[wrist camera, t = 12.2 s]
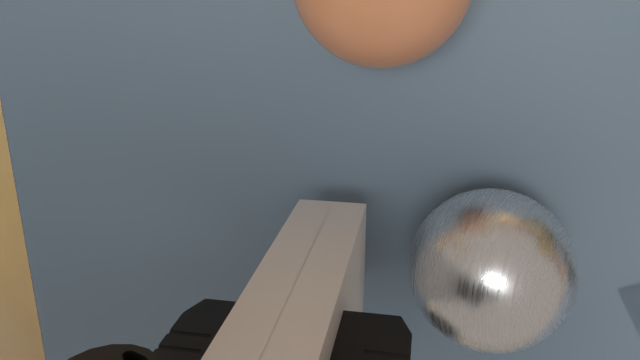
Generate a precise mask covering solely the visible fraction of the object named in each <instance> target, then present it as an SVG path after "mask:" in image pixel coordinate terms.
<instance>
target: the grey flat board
mask: <svg viewBox="0 0 640 360" xmlns="http://www.w3.org/2000/svg"><path fill="white" fill-rule="evenodd" d="M0 100H1V106H2V111H3V117H4V123H5V129H6V134H7V140H8V146H9V152H10V157H11V163H12V169H13V174H14V180H15V186H16V192H17V197H18V203H19V209H20V215H21V220H22V226H23V232H24V238H25V243H26V249H27V255H28V260H29V266H30V272H31V278H32V283H33V289H34V295H35V301H36V306H37V312H38V318H39V324H40V329H41V335H42V341H43V347H44V352H45V358H46V360H68V359H69V358H70V357H73V356H75V355H77V354H79V353H82V352H84V351H86V350H89V349H92V348H96V347H101V346H105V345H110V344H133V345H137V346H141V347H145V348H148V349H150V350H151V351H152V352H153V351H154V350H155V349H156V348H157V349H158V346H159V343H160V342H161V341H162V339H163V338H164V337H165V335H166V334H167V333H168V334H169V332H170V329H171V328H172V326H173V325H174V324H175V322H176V321H177V320H178V318H179V317H180V316H181V314H182V313H183V312H184V311H186V310H188V309H189V308H191V307H192V306H194V305H196V304H197V303H199V302H200V301H202V300H204V299H215V300H225V301H235V302H237V300H238V298H239V297H240V295H241V294H242V292H243V290H244V289H245V287H246V285H247V284H248V282H249V281H250V279H251V277H252V276H253V274H254V273H255V271H256V269H257V268H258V266H259V264H260V263H261V261H262V260H263V258H264V256H265V255H266V253H267V251H268V250H269V248H270V247H271V245H272V243H273V242H274V240H275V238H276V237H277V235H278V234H279V232H280V230H281V229H282V227H283V226H284V224H285V222H286V221H287V219H288V217H289V216H290V214H291V213H292V211H293V209H294V208H295V206H296V204H297V203H298V201H299V200H300V199H304V200H319V201H333V202H348V203H363V204H367V205H366V239H365V273H364V306H363V312H366V313H376V314H386V315H396V316H401V317H402V318H403V320H404V322H405V323H406V325H407V327H408V328H409V330H410V332H411V333H412V344H411V360H640V0H472V1H471V4H470V6H469V9H468V11H467V13H466V15H465V17H464V19H463V20H462V22H461V24H460V25H459V27H458V28H457V29H456V31H455V32H454V33H453V35H452V36H451V37H450V38H449V39H448V40H447V41H446V42H445V43H444V44H443V45H442V46H440V47H439V48H438V49H437V50H435V51H434V52H433V53H431V54H429V55H428V56H426V57H425V58H423V59H420V60H418V61H416V62H414V63H411V64H408V65H405V66H401V67H396V68H389V69H374V68H365V67H361V66H356V65H353V64H351V63H348V62H345V61H343V60H341V59H340V58H338V57H336V56H334V55H333V54H331V53H330V52H328V51H327V50H326V49H324V48H323V47H322V46H321V45H320V44H319V43H318V42H317V41H316V40H315V39H314V38H313V36H312V35H311V34H310V33H309V31H308V30H307V28H306V27H305V25H304V24H303V22H302V20H301V18H300V16H299V14H298V11H297V9H296V6H295V3H294V0H0ZM484 188H495V189H503V190H509V191H513V192H517V193H520V194H522V195H525V196H527V197H529V198H531V199H533V200H535V201H536V202H538V203H540V204H541V205H542V206H544V207H545V208H546V209H548V210H549V211H550V212H551V213H552V214H553V215H554V216H555V217H556V218H557V219H558V220H559V222H560V223H561V224H562V226H563V227H564V228H565V230H566V232H567V233H568V235H569V237H570V239H571V241H572V244H573V246H574V249H575V252H576V256H577V260H578V270H579V279H578V289H577V293H576V297H575V300H574V302H573V305H572V307H571V310H570V312H569V313H568V315H567V316H566V318H565V320H564V321H563V322H562V324H561V325H560V326H559V327H558V328H557V329H556V330H555V331H554V332H553V333H552V334H551V335H549V336H548V337H547V338H546V339H544V340H543V341H541V342H539V343H538V344H536V345H534V346H531V347H529V348H527V349H524V350H520V351H516V352H512V353H504V354H490V353H483V352H478V351H474V350H471V349H467V348H464V347H462V346H460V345H458V344H455V343H454V342H452V341H450V340H449V339H447V338H446V337H445V336H443V335H442V334H441V333H440V332H438V331H437V330H436V329H435V328H434V327H433V326H432V325H431V324H430V323H429V322H428V321H427V319H426V318H425V316H424V315H423V314H422V312H421V311H420V309H419V307H418V305H417V303H416V301H415V299H414V296H413V293H412V290H411V286H410V280H409V273H408V265H409V254H410V249H411V245H412V242H413V240H414V237H415V235H416V233H417V231H418V229H419V227H420V226H421V224H422V223H423V221H424V220H425V219H426V218H427V216H428V215H429V214H430V213H431V212H432V211H433V210H434V209H435V208H437V207H438V206H439V205H440V204H441V203H443V202H445V201H446V200H448V199H450V198H451V197H454V196H456V195H458V194H460V193H464V192H467V191H471V190H476V189H484Z"/></svg>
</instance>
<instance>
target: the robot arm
mask: <svg viewBox="0 0 640 360" xmlns="http://www.w3.org/2000/svg"><path fill="white" fill-rule="evenodd" d="M366 205H367V204H363V203H348V202H333V201H319V200H304V199H300V200H299V201H298V203H297V204H296V206H295V208H294V209H293V211H292V213H291V214H290V216H289V217H288V219H287V221H286V222H285V224H284V226H283V227H282V229H281V230H280V232H279V234H278V235H277V237H276V238H275V240H274V242H273V243H272V245H271V247H270V248H269V250H268V251H267V253H266V255H265V256H264V258H263V260H262V261H261V263H260V264H259V266H258V268H257V269H256V271H255V273H254V274H253V276H252V277H251V279H250V281H249V282H248V284H247V285H246V287H245V289H244V290H243V292H242V294H241V295H240V297H239V298H238V300H237V302H235V301H225V300H215V299H204V300H202V301H200V302H199V303H197V304H196V305H194V306H192V307H191V308H189V309H188V310H186V311H184V312H183V313H182V314H181V316H180V317H179V318H178V320H177V321H176V322H175V324H174V325H173V326H172V328H171V329H170V332H169V334H168V333H167V334H166V335H165V337H164V338H163V339H162V341H161V342H160V343H159V346H158V349H157V348H156V349H155V350H154V351H153V352H152V351H151V350H150V349H148V348H145V347H141V346H137V345H133V344H110V345H105V346H101V347H96V348H92V349H89V350H86V351H84V352H82V353H79V354H77V355H75V356H73V357H70V358H69V359H68V360H411V344H412V333H411V332H410V330H409V328H408V327H407V325H406V323H405V322H404V320H403V318H402V317H401V316H396V315H386V314H376V313H366V312H363V306H364V273H365V239H366Z"/></svg>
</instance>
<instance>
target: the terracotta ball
mask: <svg viewBox="0 0 640 360" xmlns="http://www.w3.org/2000/svg"><path fill="white" fill-rule="evenodd" d="M471 1H472V0H294V3H295V6H296V9H297V11H298V14H299V16H300V18H301V20H302V22H303V24H304V25H305V27H306V28H307V30H308V31H309V33H310V34H311V35H312V36H313V38H314V39H315V40H316V41H317V42H318V43H319V44H320V45H321V46H322V47H323V48H324V49H326V50H327V51H328V52H330V53H331V54H333V55H334V56H336V57H338V58H340V59H341V60H343V61H345V62H348V63H351V64H353V65H356V66H361V67H365V68H374V69H389V68H396V67H401V66H405V65H408V64H411V63H414V62H416V61H418V60H420V59H423V58H425V57H426V56H428V55H429V54H431V53H433V52H434V51H435V50H437V49H438V48H439V47H440V46H442V45H443V44H444V43H445V42H446V41H447V40H448V39H449V38H450V37H451V36H452V35H453V33H454V32H455V31H456V29H457V28H458V27H459V25H460V24H461V22H462V20H463V19H464V17H465V15H466V13H467V11H468V9H469V6H470V4H471Z"/></svg>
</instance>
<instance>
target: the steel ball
mask: <svg viewBox="0 0 640 360" xmlns="http://www.w3.org/2000/svg"><path fill="white" fill-rule="evenodd" d="M408 273H409V280H410V286H411V290H412V293H413V296H414V299H415V301H416V303H417V305H418V307H419V309H420V311H421V312H422V314H423V315H424V316H425V318H426V319H427V321H428V322H429V323H430V324H431V325H432V326H433V327H434V328H435V329H436V330H437V331H438V332H440V333H441V334H442V335H443V336H445V337H446V338H447V339H449V340H450V341H452V342H454V343H455V344H458V345H460V346H462V347H464V348H467V349H471V350H474V351H478V352H483V353H490V354H504V353H512V352H516V351H520V350H524V349H527V348H529V347H531V346H534V345H536V344H538V343H539V342H541V341H543V340H544V339H546V338H547V337H548V336H549V335H551V334H552V333H553V332H554V331H555V330H556V329H557V328H558V327H559V326H560V325H561V324H562V322H563V321H564V320H565V318H566V316H567V315H568V313H569V312H570V310H571V307H572V305H573V302H574V300H575V297H576V293H577V289H578V279H579V270H578V260H577V256H576V252H575V249H574V246H573V244H572V241H571V239H570V237H569V235H568V233H567V232H566V230H565V228H564V227H563V226H562V224H561V223H560V222H559V220H558V219H557V218H556V217H555V216H554V215H553V214H552V213H551V212H550V211H549V210H548V209H546V208H545V207H544V206H542V205H541V204H540V203H538V202H536V201H535V200H533V199H531V198H529V197H527V196H525V195H522V194H520V193H517V192H513V191H509V190H503V189H495V188H484V189H476V190H471V191H467V192H464V193H460V194H458V195H456V196H454V197H451V198H450V199H448V200H446V201H445V202H443V203H441V204H440V205H439V206H438V207H437V208H435V209H434V210H433V211H432V212H431V213H430V214H429V215H428V216H427V218H426V219H425V220H424V221H423V223H422V224H421V226H420V227H419V229H418V231H417V233H416V235H415V237H414V240H413V242H412V245H411V249H410V254H409V265H408Z"/></svg>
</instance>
